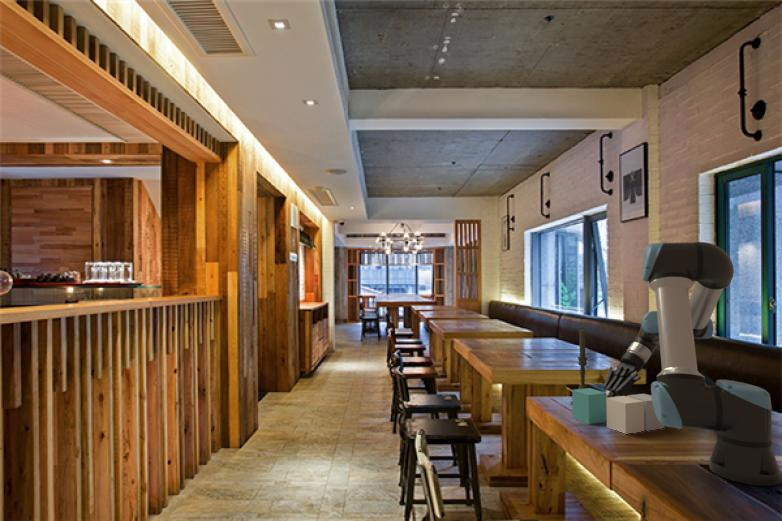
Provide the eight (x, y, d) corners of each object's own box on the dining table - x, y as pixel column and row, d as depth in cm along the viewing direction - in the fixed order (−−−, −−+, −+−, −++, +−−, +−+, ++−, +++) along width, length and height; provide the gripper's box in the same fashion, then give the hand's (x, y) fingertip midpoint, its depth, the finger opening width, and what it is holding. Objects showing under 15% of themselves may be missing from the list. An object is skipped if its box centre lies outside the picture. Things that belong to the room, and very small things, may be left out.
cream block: (624, 425, 173) (624, 395, 173) (644, 432, 165) (643, 401, 165) (606, 427, 170) (606, 397, 170) (625, 434, 162) (625, 403, 162)
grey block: (644, 422, 176) (644, 393, 176) (664, 429, 168) (664, 398, 169) (627, 424, 173) (626, 395, 173) (646, 431, 165) (646, 401, 166)
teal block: (590, 415, 184) (590, 388, 184) (606, 421, 176) (606, 393, 176) (572, 417, 181) (572, 389, 181) (588, 424, 173) (588, 395, 174)
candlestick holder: (599, 404, 199) (598, 328, 200) (589, 409, 193) (589, 330, 193) (576, 400, 205) (575, 326, 206) (566, 404, 199) (566, 328, 200)
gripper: (655, 367, 182) (620, 418, 175) (627, 361, 194) (593, 409, 188) (644, 353, 180) (608, 404, 174) (616, 348, 192) (581, 396, 186)
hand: (600, 407), depth 181 cm, fingers closed
